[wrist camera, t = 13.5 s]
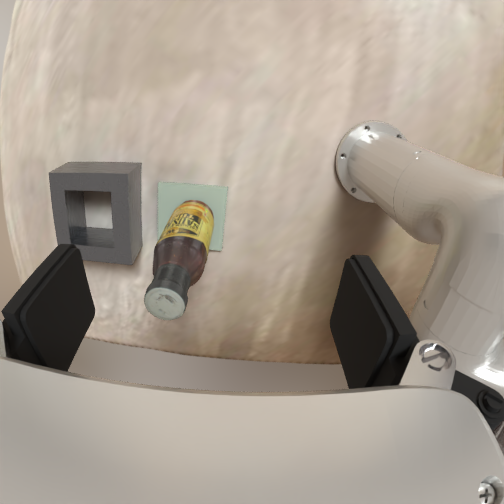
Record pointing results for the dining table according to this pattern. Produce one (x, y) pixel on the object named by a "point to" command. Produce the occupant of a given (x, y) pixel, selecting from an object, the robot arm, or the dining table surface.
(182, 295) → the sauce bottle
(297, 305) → the dining table surface
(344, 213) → the dining table surface
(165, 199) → the mat
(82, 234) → the collar
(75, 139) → the dining table surface
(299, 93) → the dining table surface
